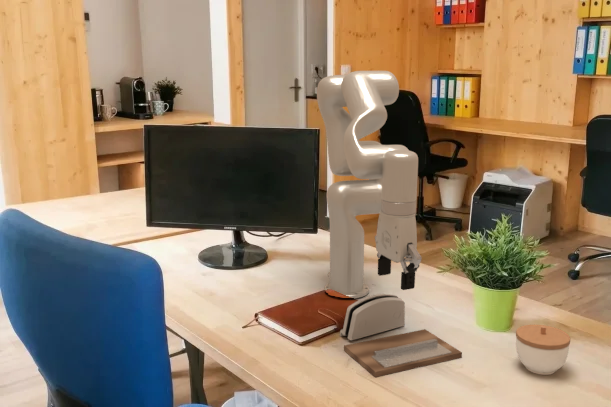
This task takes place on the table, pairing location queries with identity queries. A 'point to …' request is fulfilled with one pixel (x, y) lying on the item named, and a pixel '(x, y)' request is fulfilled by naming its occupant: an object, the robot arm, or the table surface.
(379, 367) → the mounting board
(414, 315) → the table surface
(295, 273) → the table surface
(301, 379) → the table surface
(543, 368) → the lidded jar
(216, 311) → the table surface
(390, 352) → the plate
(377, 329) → the white arched block
